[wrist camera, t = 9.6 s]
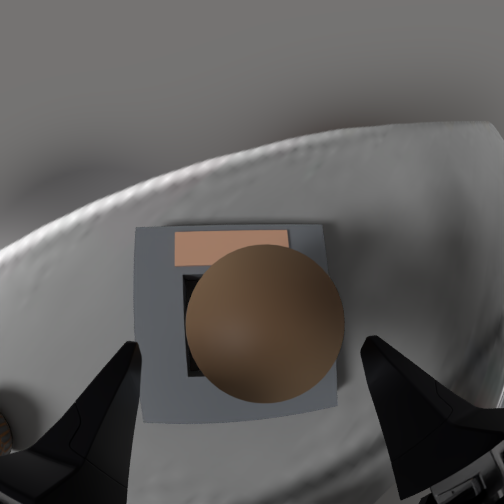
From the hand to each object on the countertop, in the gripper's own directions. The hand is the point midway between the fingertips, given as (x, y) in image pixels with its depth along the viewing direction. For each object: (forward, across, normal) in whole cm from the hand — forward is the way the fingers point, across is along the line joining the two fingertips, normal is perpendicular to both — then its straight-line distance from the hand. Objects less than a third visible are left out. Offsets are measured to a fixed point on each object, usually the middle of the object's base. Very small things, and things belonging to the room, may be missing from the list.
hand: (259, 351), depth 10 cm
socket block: (+9, 0, +7) cm, 11 cm away
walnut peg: (+9, 0, +7) cm, 11 cm away
